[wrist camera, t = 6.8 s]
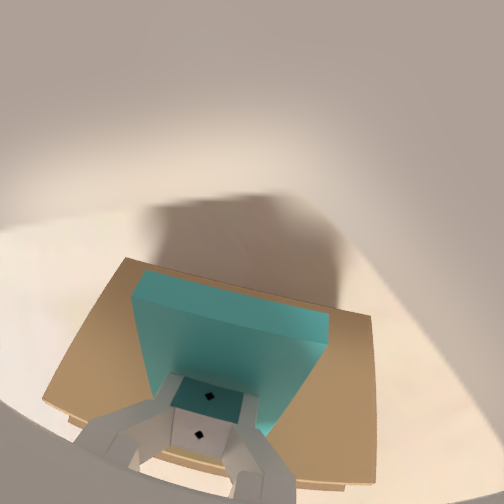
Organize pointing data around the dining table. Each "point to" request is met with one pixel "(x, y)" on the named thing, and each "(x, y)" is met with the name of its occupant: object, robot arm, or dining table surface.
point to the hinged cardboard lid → (231, 365)
